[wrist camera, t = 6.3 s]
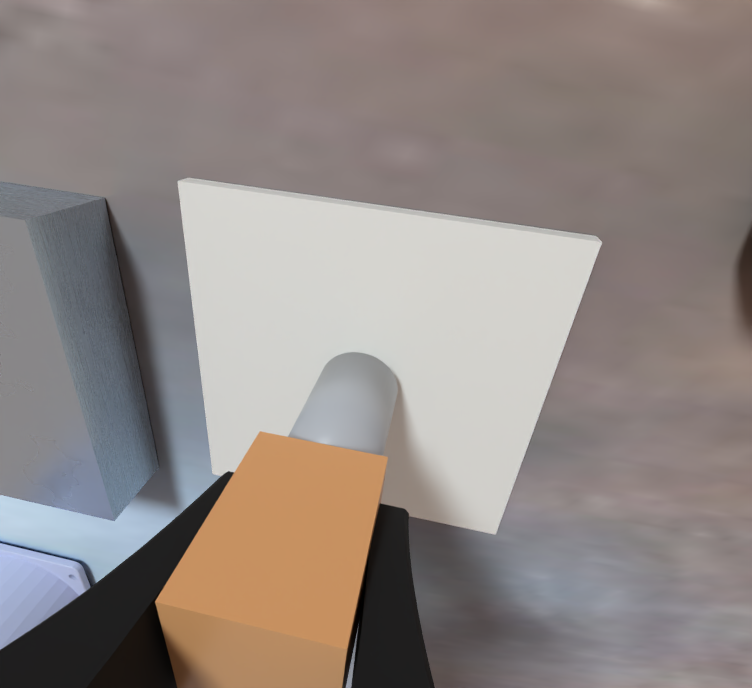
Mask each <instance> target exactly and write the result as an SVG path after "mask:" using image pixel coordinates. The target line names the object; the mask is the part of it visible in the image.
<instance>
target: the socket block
mask: <svg viewBox="0 0 752 688" xmlns="http://www.w3.org/2000/svg"><path fill="white" fill-rule="evenodd" d="M158 468H159V464H158V459H157V454H156V449H155V444H154V439H153V434H152V429H151V424H150V419H149V414H148V409H147V404H146V400H145V395H144V390H143V385H142V380H141V375H140V370H139V365H138V360H137V355H136V350H135V345H134V340H133V335H132V330H131V325H130V321H129V316H128V311H127V306H126V301H125V296H124V291H123V286H122V281H121V276H120V271H119V266H118V261H117V256H116V251H115V246H114V242H113V237H112V232H111V227H110V222H109V217H108V212H107V207H106V202H105V198H103V197H96V196H90V195H83V194H76V193H70V192H63V191H56V190H50V189H43V188H37V187H30V186H23V185H17V184H10V183H3V182H0V495H4V496H8V497H12V498H17V499H21V500H25V501H30V502H34V503H39V504H43V505H47V506H52V507H56V508H60V509H65V510H69V511H73V512H78V513H82V514H86V515H91V516H95V517H99V518H104V519H108V520H112V521H115V520H116V519H117V517H118V516H119V515H120V514H121V513H122V511H123V510H124V509H125V508H126V506H127V505H128V504H129V503H130V502H131V500H132V499H133V498H134V497H135V496H136V494H137V493H138V492H139V491H140V490H141V488H142V487H143V486H144V485H145V483H146V482H147V481H148V480H149V479H150V477H151V476H152V475H153V474H154V473H155V471H156V470H157V469H158Z"/></svg>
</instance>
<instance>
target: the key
mask: <svg viewBox="0 0 752 688" xmlns="http://www.w3.org/2000/svg"><path fill="white" fill-rule="evenodd" d="M397 391H398V387H397V382H396V379H395V376H394V374H393V373H392V371H391V370H390V368H389V367H388V366H387V365H386V364H385V363H383V362H382V361H381V360H379V359H378V358H376V357H374V356H371V355H369V354H365V353H360V352H348V353H343V354H340V355H337V356H336V357H334V358H332V359H331V360H330V361H329V362H328V363H327V364H326V365H325V367H324V368H323V370H322V372H321V374H320V376H319V378H318V380H317V382H316V384H315V386H314V388H313V389H312V391H311V393H310V395H309V397H308V399H307V401H306V403H305V405H304V407H303V409H302V411H301V412H300V414H299V416H298V418H297V420H296V422H295V424H294V426H293V428H292V430H291V432H290V434H289V435H288V437H286V436H281V435H276V434H271V433H266V432H261V431H260V432H259V433H258V435H257V437H256V438H255V440H254V441H253V443H252V445H251V446H250V448H249V450H248V451H247V453H246V454H245V456H244V458H243V459H242V461H241V463H240V464H239V466H238V467H237V469H236V471H235V472H234V474H233V476H232V477H231V479H230V480H229V482H228V484H227V485H226V487H225V489H224V490H223V492H222V494H221V495H220V497H219V498H218V500H217V502H216V503H215V505H214V507H213V508H212V510H211V511H210V513H209V515H208V516H207V518H206V520H205V521H204V523H203V524H202V526H201V528H200V529H199V531H198V533H197V534H196V536H195V537H194V539H193V541H192V542H191V544H190V546H189V547H188V549H187V551H186V552H185V554H184V555H183V557H182V559H181V560H180V562H179V564H178V565H177V567H176V568H175V570H174V572H173V573H172V575H171V577H170V578H169V580H168V581H167V583H166V585H165V586H164V588H163V590H162V591H161V593H160V594H159V596H158V598H157V599H156V601H155V604H156V607H157V611H158V615H159V619H160V623H161V626H162V630H163V634H164V638H165V642H166V646H167V649H168V653H169V657H170V661H171V665H172V668H173V672H174V676H175V680H176V684H177V688H346V683H347V678H348V673H349V668H350V663H351V658H352V653H353V648H354V643H355V638H356V633H357V628H358V624H359V619H360V612H361V605H362V599H363V592H364V585H365V578H366V571H367V565H368V558H369V551H370V545H371V541H372V536H373V532H374V527H375V523H376V518H377V514H378V509H379V505H380V503H381V499H382V493H383V487H384V480H385V474H386V467H387V461H388V457H386V456H383V454H384V450H385V445H386V441H387V437H388V432H389V428H390V423H391V419H392V415H393V410H394V406H395V401H396V397H397Z"/></svg>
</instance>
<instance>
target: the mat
mask: <svg viewBox="0 0 752 688" xmlns="http://www.w3.org/2000/svg"><path fill="white" fill-rule="evenodd" d="M178 188H179V197H180V205H181V214H182V222H183V230H184V239H185V247H186V255H187V264H188V272H189V280H190V289H191V297H192V305H193V314H194V322H195V330H196V339H197V347H198V355H199V364H200V372H201V380H202V389H203V397H204V405H205V414H206V422H207V431H208V439H209V447H210V456H211V464H212V472H213V474H214V475H219V476H222V475H223V474H224V473H226V472H228V471H230V472H235V471H236V469H237V467H238V466H239V464H240V463H241V461H242V459H243V458H244V456H245V454H246V453H247V451H248V450H249V448H250V446H251V445H252V443H253V441H254V440H255V438H256V437H257V435H258V433H259V432H260V431H261V432H266V433H271V434H276V435H281V436H286V437H288V435H289V434H290V432H291V430H292V428H293V426H294V424H295V422H296V420H297V418H298V416H299V414H300V412H301V411H302V409H303V407H304V405H305V403H306V401H307V399H308V397H309V395H310V393H311V391H312V389H313V388H314V386H315V384H316V382H317V380H318V378H319V376H320V374H321V372H322V370H323V368H324V367H325V365H326V364H327V363H328V362H329V361H330V360H331V359H332V358H334V357H336V356H337V355H340V354H343V353H348V352H360V353H365V354H369V355H371V356H374V357H376V358H378V359H379V360H381V361H382V362H383V363H385V364H386V365H387V366H388V367H389V368H390V370H391V371H392V373H393V374H394V376H395V379H396V382H397V387H398V391H397V397H396V401H395V406H394V410H393V415H392V419H391V423H390V428H389V432H388V437H387V441H386V445H385V450H384V454H383V456H386V457H388V461H387V467H386V474H385V480H384V487H383V493H382V499H381V504H385V505H390V506H395V507H400V508H404V509H406V510H407V512H408V513H409V516H411V517H415V518H420V519H425V520H429V521H434V522H439V523H443V524H448V525H453V526H458V527H462V528H467V529H472V530H476V531H481V532H486V533H490V534H495V535H496V532H497V529H498V527H499V524H500V521H501V518H502V516H503V513H504V510H505V507H506V505H507V502H508V499H509V496H510V494H511V491H512V488H513V485H514V483H515V480H516V477H517V474H518V472H519V469H520V466H521V463H522V461H523V458H524V455H525V452H526V450H527V447H528V444H529V441H530V439H531V436H532V433H533V430H534V428H535V425H536V422H537V419H538V417H539V414H540V411H541V408H542V406H543V403H544V400H545V398H546V395H547V392H548V389H549V387H550V384H551V381H552V378H553V376H554V373H555V370H556V367H557V365H558V362H559V359H560V356H561V354H562V351H563V348H564V345H565V343H566V340H567V337H568V334H569V332H570V329H571V326H572V323H573V321H574V318H575V315H576V312H577V310H578V307H579V304H580V301H581V299H582V296H583V293H584V290H585V288H586V285H587V282H588V279H589V277H590V274H591V271H592V268H593V266H594V263H595V260H596V257H597V255H598V252H599V249H600V246H601V244H602V242H601V240H600V239H599V238H598V237H597V236H593V235H586V234H579V233H572V232H565V231H558V230H551V229H544V228H537V227H530V226H523V225H516V224H509V223H502V222H495V221H488V220H481V219H474V218H467V217H460V216H453V215H446V214H439V213H432V212H425V211H418V210H411V209H404V208H397V207H390V206H383V205H376V204H369V203H362V202H355V201H348V200H341V199H334V198H327V197H320V196H313V195H306V194H299V193H292V192H285V191H278V190H271V189H264V188H257V187H250V186H243V185H236V184H229V183H222V182H215V181H208V180H201V179H194V178H186V179H182V180H179V181H178Z"/></svg>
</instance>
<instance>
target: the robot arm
mask: <svg viewBox="0 0 752 688" xmlns="http://www.w3.org/2000/svg"><path fill="white" fill-rule="evenodd" d="M233 474H234V472H230V471H228V472H226V473H224V474H223V475H222V476H221V477H220V478H219V479H218V480H217V481H216V482H215V483H214V484H213V485H211V486H210V487H209V488H208V489H207V490H206V491H205V492H204V493H203V494H202V495H201V496H200V497H199V498H197V499H196V500H195V501H194V502H193V503H192V504H191V505H190V506H189V507H188V508H186V509H185V510H184V511H183V512H182V513H181V514H180V515H179V516H177V517H176V518H175V519H174V520H173V521H172V522H171V523H169V524H168V525H167V526H166V527H165V528H164V529H162V530H161V531H160V532H159V533H158V534H157V535H155V536H154V537H153V538H152V539H151V540H150V541H148V542H147V543H146V544H145V545H144V546H143V547H141V548H140V549H139V550H138V551H136V552H135V553H134V554H133V555H131V556H130V557H129V558H128V559H126V560H125V561H124V562H123V563H121V564H120V565H119V566H118V567H116V568H115V569H114V570H112V571H111V572H110V573H109V574H107V575H106V576H105V577H104V578H102V579H101V580H100V581H98V582H97V583H96V584H94V585H93V586H92V587H90V584H89V581H88V579H87V576H86V574H85V571H84V568H83V566H82V565H81V564H80V563H78V562H76V561H72V560H68V559H64V558H60V557H56V556H51V555H47V554H43V553H39V552H35V551H31V550H27V549H23V548H19V547H14V546H10V545H6V544H2V543H0V688H177V684H176V680H175V676H174V672H173V668H172V665H171V661H170V657H169V653H168V649H167V646H166V642H165V638H164V634H163V630H162V626H161V623H160V619H159V615H158V611H157V607H156V604H155V601H156V599H157V598H158V596H159V594H160V593H161V591H162V590H163V588H164V586H165V585H166V583H167V581H168V580H169V578H170V577H171V575H172V573H173V572H174V570H175V568H176V567H177V565H178V564H179V562H180V560H181V559H182V557H183V555H184V554H185V552H186V551H187V549H188V547H189V546H190V544H191V542H192V541H193V539H194V537H195V536H196V534H197V533H198V531H199V529H200V528H201V526H202V524H203V523H204V521H205V520H206V518H207V516H208V515H209V513H210V511H211V510H212V508H213V507H214V505H215V503H216V502H217V500H218V498H219V497H220V495H221V494H222V492H223V490H224V489H225V487H226V485H227V484H228V482H229V480H230V479H231V477H232V476H233ZM408 519H409V513H408V512H407V510H406V509H404V508H400V507H395V506H390V505H385V504H381V503H380V505H379V509H378V514H377V518H376V523H375V527H374V532H373V536H372V541H371V545H370V551H369V558H368V565H367V571H366V578H365V585H364V592H363V599H362V605H361V612H360V619H359V627H358V635H357V644H356V652H355V661H354V670H353V678H352V687H351V688H435V687H434V683H433V679H432V675H431V671H430V667H429V662H428V658H427V654H426V649H425V645H424V640H423V635H422V630H421V625H420V620H419V615H418V609H417V603H416V597H415V591H414V585H413V578H412V571H411V561H410V552H409V536H408Z"/></svg>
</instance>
